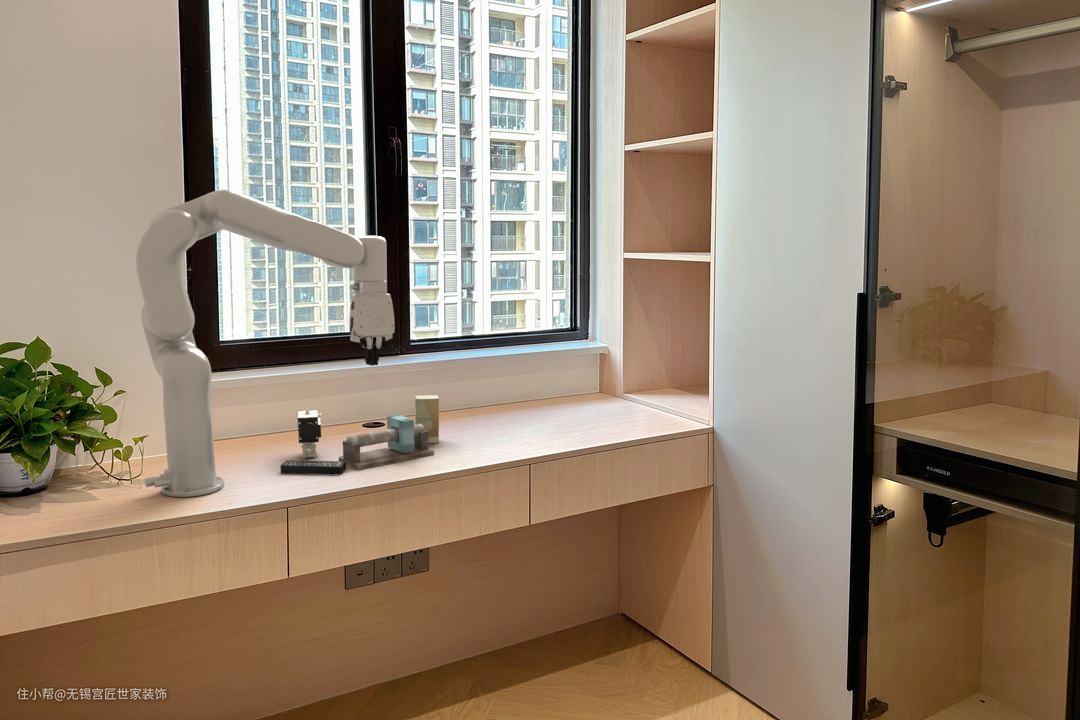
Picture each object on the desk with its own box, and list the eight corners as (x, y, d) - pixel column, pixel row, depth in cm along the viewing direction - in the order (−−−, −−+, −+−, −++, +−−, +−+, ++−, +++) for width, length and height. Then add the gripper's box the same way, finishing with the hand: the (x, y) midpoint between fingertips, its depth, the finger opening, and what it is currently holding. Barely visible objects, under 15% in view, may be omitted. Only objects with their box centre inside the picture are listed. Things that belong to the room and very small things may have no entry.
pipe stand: (357, 469, 198) (356, 440, 197) (338, 460, 205) (337, 432, 204) (433, 454, 211) (433, 427, 210) (413, 446, 218) (412, 419, 217)
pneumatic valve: (299, 463, 203) (297, 415, 201) (300, 451, 214) (297, 405, 212) (323, 461, 204) (321, 413, 202) (322, 449, 215) (320, 403, 214)
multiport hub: (287, 469, 200) (286, 460, 199) (346, 470, 199) (346, 461, 198) (280, 475, 195) (279, 465, 195) (341, 476, 194) (341, 466, 194)
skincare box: (415, 444, 221) (414, 398, 219) (414, 440, 225) (413, 395, 223) (440, 443, 222) (439, 397, 220) (438, 438, 226) (437, 394, 224)
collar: (403, 453, 206) (403, 421, 205) (387, 446, 212) (386, 415, 211) (414, 451, 208) (413, 419, 207) (398, 444, 214) (397, 414, 213)
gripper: (349, 290, 192) (350, 369, 195) (406, 288, 201) (406, 364, 204) (334, 288, 198) (336, 365, 200) (390, 286, 207) (391, 360, 210)
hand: (371, 364), depth 202 cm, fingers closed
